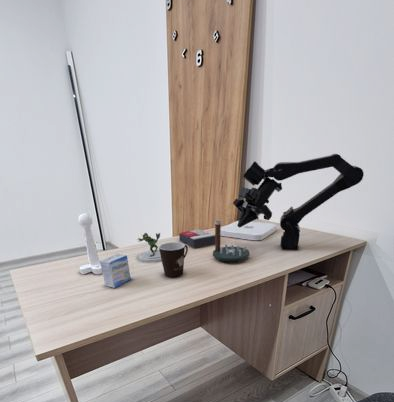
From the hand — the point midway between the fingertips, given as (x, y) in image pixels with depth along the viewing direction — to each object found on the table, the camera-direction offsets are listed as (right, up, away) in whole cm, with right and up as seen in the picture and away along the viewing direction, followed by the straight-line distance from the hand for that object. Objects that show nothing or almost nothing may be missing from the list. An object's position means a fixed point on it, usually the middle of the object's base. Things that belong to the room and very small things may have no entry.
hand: (238, 226), depth 116 cm
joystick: (-53, -19, -7) cm, 56 cm away
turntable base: (-3, -12, -1) cm, 13 cm away
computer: (+9, +6, +30) cm, 31 cm away
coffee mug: (-23, -20, -12) cm, 33 cm away
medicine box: (-42, -24, -17) cm, 52 cm away
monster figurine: (-34, -11, +4) cm, 36 cm away
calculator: (-16, -1, +19) cm, 25 cm away
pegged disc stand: (-3, -11, -1) cm, 12 cm away
